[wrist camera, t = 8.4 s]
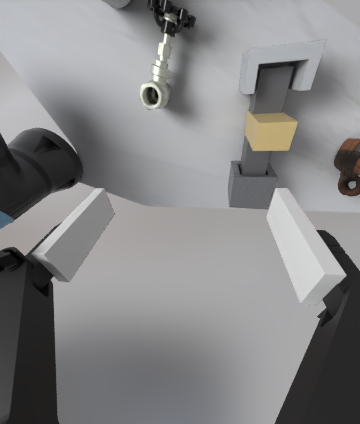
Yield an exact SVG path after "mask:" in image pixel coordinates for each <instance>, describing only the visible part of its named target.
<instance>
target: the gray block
mask: <svg viewBox="0 0 360 424" xmlns="http://www.w3.org/2000/svg"><path fill="white" fill-rule="evenodd" d="M240 164H241V161H231V167H230V175H229V183H228V196H229V207H234V208H257V209H268V206H269V203H270V200H271V197H272V194H273V190H274V187H275V184H276V181H277V178H278V177H277V175H276V174H275V172H274V170H273V169H272V167H271V165H270V163H269V162H268V166H267V169H266V173H265V175H252V174H240V172H239V170H240Z"/></svg>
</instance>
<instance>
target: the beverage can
mask: <svg viewBox="0 0 360 424" xmlns="http://www.w3.org/2000/svg"><path fill="white" fill-rule="evenodd" d="M102 1H103V2H105V3H107V4H108V5H110V6H111V7H114V8H122V7H124V6H126V5H127V4H128V3H129V2H130V0H102Z"/></svg>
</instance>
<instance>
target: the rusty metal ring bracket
mask: <svg viewBox="0 0 360 424" xmlns="http://www.w3.org/2000/svg"><path fill="white" fill-rule="evenodd" d="M359 144H360V139H347V140H346V141H345V142H344V144H343V145H342V146H341V148H340V150H339V151H338V153H337V155H336V157H335V160H334V165H335V167H336V168H337V169H338V170H339V171H341V173H340V175H341V177H340V179H339V182H338V189H339V191H340V193H342V195H348V196H356V195H359V194H360V177H359V176H358V175H360V152H358V151H357V152H356V151H355V149H356V147H357V146H358V145H359ZM350 181H356V187H355V188H353V189H350V188H349V186H348V183H349V182H350Z"/></svg>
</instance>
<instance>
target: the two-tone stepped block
mask: <svg viewBox="0 0 360 424" xmlns="http://www.w3.org/2000/svg"><path fill="white" fill-rule="evenodd" d="M293 68H294V66H290V67H279V68H268V69H258V71H257V77H256V83H255V89H254V94H252V95H251V101H250V107H249V110H247V117H246V123H245V130H244V133H245V139H244V145H243V151H242V157H241V164H240V170H239V172H240V174H252V175H265V173H266V169H267V166H268V162H269V158H270V154H271V151H289V148H290V145H291V142H292V139H293V136H294V133H295V130H296V127H297V124H298V121H297V120H295V119H293V118H291V117H290V116H288V115H286V114H285V113H283V112H282V109H283V105H284V102H285V98H286V94H287V90H288V86H289V83H290V79H291V75H292V71H293Z"/></svg>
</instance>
